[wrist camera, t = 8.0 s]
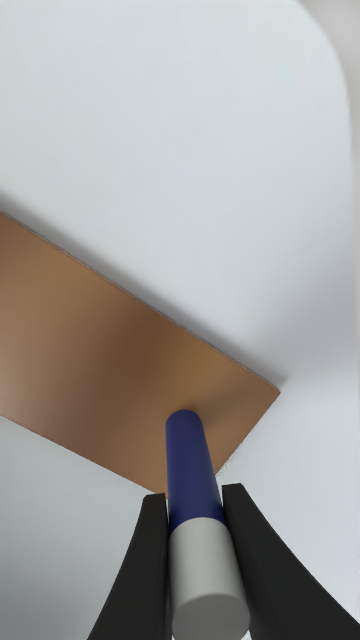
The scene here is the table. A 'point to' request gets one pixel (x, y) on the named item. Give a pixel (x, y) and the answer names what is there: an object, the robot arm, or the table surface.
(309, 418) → the table surface
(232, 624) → the marker
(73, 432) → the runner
